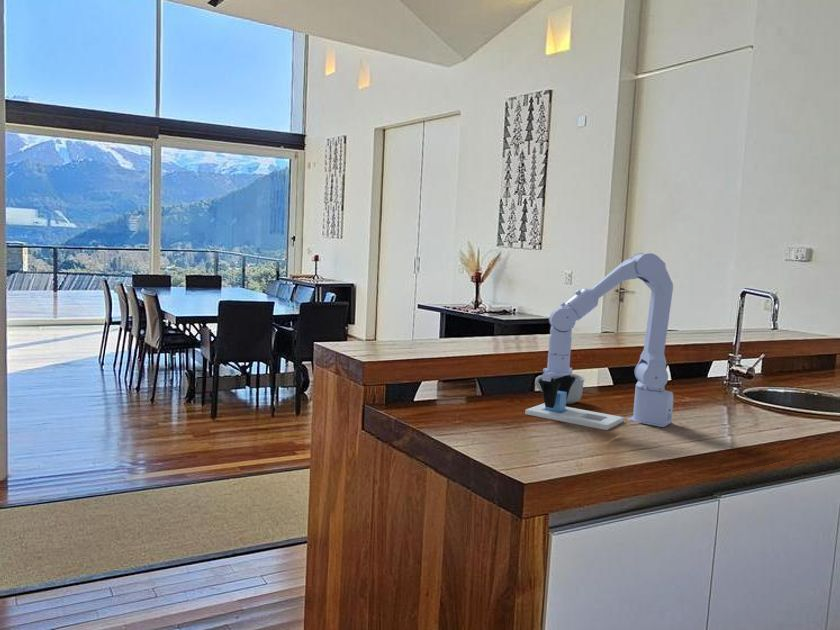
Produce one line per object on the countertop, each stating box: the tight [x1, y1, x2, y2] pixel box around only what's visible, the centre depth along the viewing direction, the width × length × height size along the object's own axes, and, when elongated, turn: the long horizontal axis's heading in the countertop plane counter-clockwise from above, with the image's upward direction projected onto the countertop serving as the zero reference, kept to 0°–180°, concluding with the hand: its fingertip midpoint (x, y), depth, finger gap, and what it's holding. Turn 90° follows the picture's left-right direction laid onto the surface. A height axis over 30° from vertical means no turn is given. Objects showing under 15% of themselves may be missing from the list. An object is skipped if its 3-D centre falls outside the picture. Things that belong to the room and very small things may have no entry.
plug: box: [545, 391, 567, 413], centre depth 187 cm, size 4×4×6 cm
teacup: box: [534, 373, 585, 405], centre depth 205 cm, size 14×11×8 cm
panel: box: [524, 402, 625, 431], centre depth 185 cm, size 22×12×2 cm, turn 55°
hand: (555, 404), depth 187 cm, fingers open, 7 cm apart
